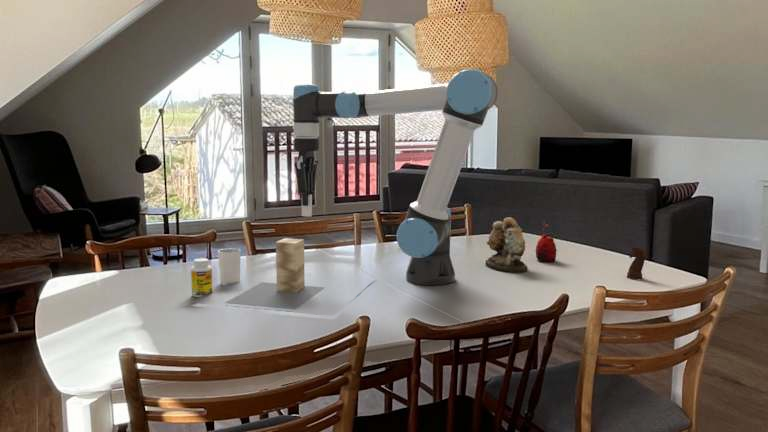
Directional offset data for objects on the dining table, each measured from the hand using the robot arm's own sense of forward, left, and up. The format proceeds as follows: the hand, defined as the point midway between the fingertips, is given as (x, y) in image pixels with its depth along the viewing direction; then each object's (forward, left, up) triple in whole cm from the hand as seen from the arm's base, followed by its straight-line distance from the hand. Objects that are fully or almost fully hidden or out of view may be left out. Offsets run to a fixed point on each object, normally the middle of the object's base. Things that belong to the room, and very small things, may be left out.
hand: (306, 215), depth 192 cm
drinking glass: (+21, +10, -20) cm, 31 cm away
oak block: (0, +13, -19) cm, 23 cm away
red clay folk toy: (-70, -50, -20) cm, 88 cm away
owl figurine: (-57, -36, -20) cm, 71 cm away
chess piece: (-98, -33, -20) cm, 105 cm away
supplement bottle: (+22, +24, -20) cm, 38 cm away
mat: (+1, +20, -20) cm, 28 cm away
